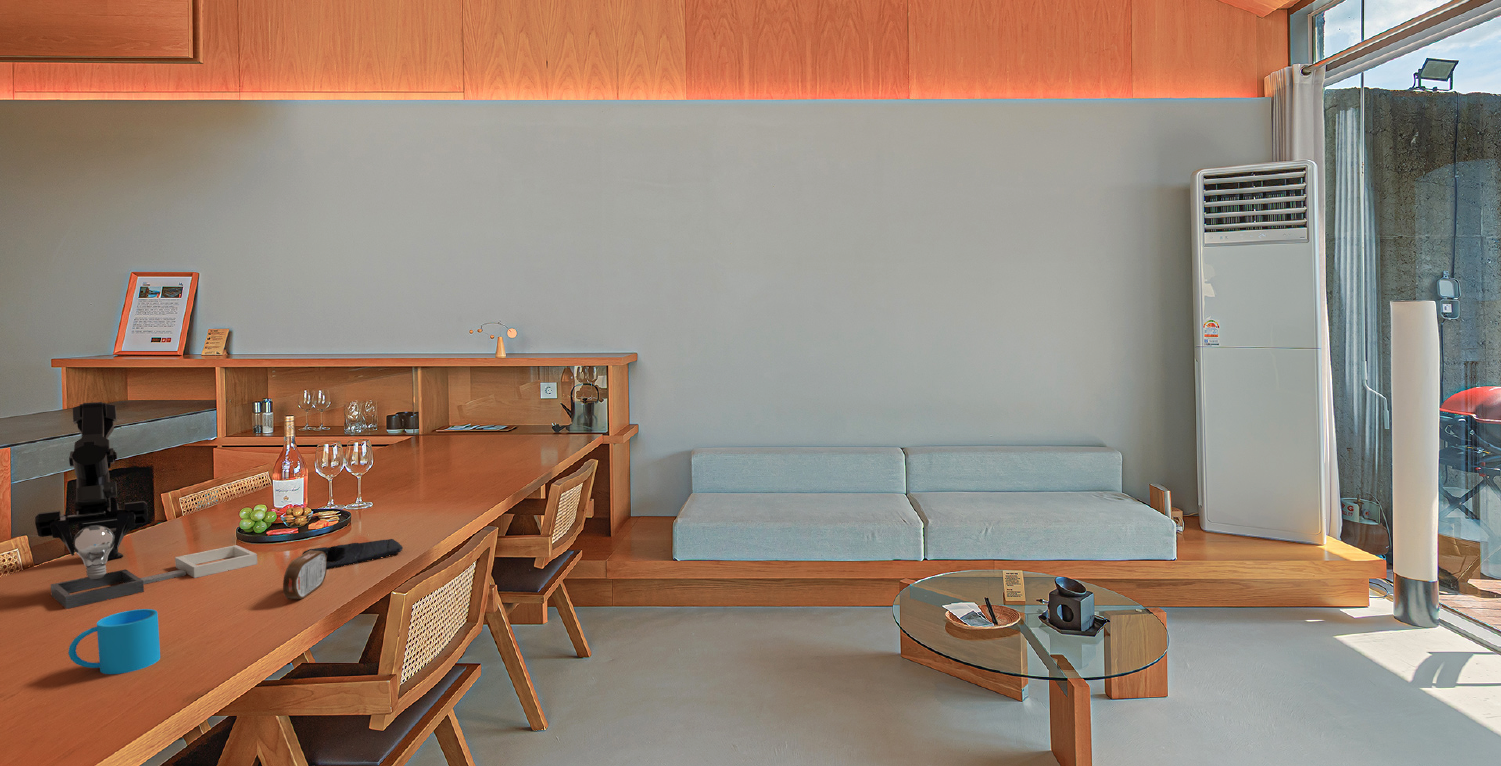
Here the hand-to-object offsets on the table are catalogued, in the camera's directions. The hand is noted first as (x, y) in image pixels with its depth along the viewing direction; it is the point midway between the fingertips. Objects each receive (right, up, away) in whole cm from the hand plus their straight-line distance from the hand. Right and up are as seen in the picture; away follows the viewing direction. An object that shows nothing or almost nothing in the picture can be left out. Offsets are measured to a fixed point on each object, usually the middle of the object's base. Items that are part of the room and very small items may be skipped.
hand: (94, 551), depth 168 cm
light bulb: (-1, -7, +2) cm, 7 cm away
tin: (+45, -10, +2) cm, 46 cm away
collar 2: (+12, -8, +21) cm, 25 cm away
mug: (+33, -12, -35) cm, 49 cm away
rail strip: (+6, -9, +11) cm, 15 cm away
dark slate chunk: (+42, -8, +28) cm, 51 cm away
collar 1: (-1, -9, +2) cm, 10 cm away
